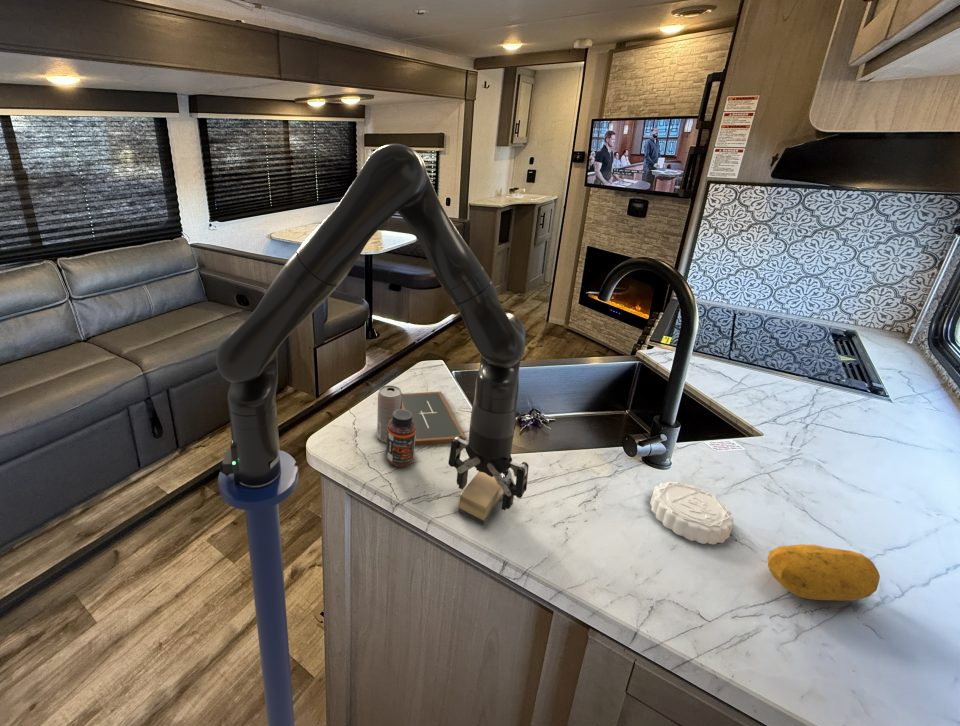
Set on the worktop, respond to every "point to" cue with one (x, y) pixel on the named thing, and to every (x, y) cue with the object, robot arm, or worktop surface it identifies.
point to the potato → (823, 572)
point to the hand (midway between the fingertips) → (483, 496)
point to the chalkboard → (431, 418)
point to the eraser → (480, 497)
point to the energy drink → (387, 408)
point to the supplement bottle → (400, 438)
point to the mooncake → (691, 512)
